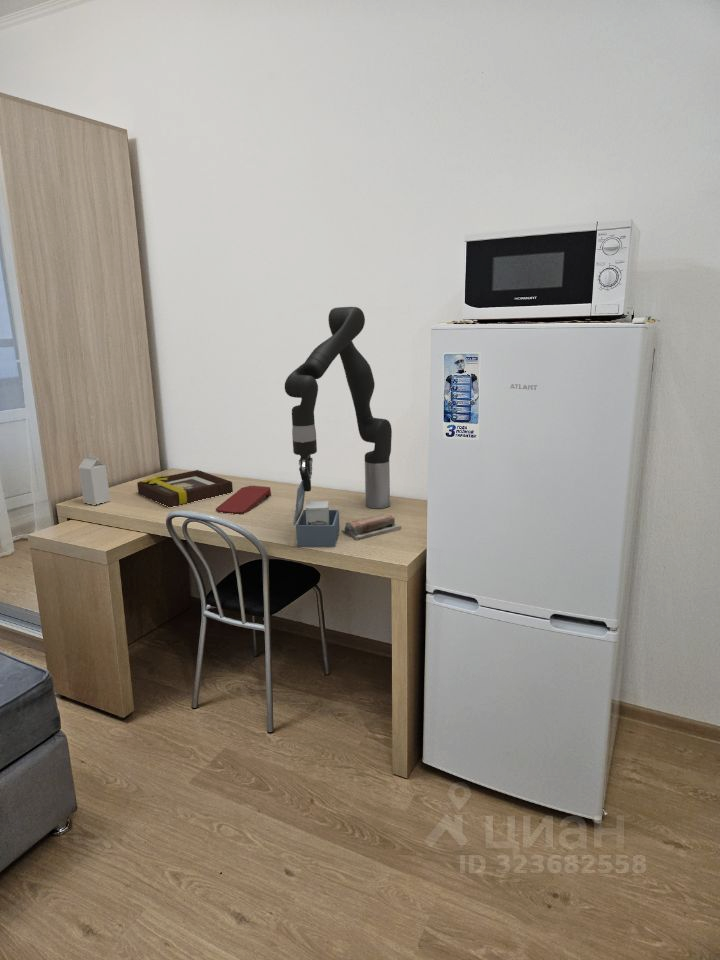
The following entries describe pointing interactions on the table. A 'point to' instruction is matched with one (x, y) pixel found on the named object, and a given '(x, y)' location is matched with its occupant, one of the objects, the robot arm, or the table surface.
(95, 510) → the table surface
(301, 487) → the lid
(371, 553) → the table surface
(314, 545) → the open blue-gray box
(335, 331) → the robot arm
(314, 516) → the supplement box
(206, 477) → the brown gift box
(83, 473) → the milk carton
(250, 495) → the red wedge
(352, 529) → the packaged product
